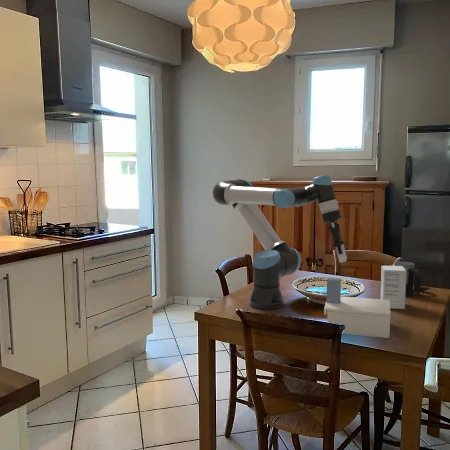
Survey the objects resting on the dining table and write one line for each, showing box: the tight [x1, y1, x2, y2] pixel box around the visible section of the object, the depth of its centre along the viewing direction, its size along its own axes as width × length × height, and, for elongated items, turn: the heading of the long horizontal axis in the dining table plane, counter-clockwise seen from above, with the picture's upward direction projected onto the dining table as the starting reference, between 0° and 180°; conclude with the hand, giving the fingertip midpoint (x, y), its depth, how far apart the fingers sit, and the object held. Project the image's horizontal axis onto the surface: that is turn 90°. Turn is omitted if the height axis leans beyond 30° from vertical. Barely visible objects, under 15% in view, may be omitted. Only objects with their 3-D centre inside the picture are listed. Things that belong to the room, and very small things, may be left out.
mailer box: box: [326, 311, 391, 339], centre depth 179 cm, size 22×16×8 cm
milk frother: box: [393, 261, 431, 297], centre depth 221 cm, size 14×16×15 cm
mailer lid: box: [323, 277, 391, 317], centre depth 178 cm, size 23×16×12 cm
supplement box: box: [379, 265, 406, 310], centre depth 203 cm, size 10×9×17 cm
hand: (343, 260), depth 195 cm, fingers open, 13 cm apart
